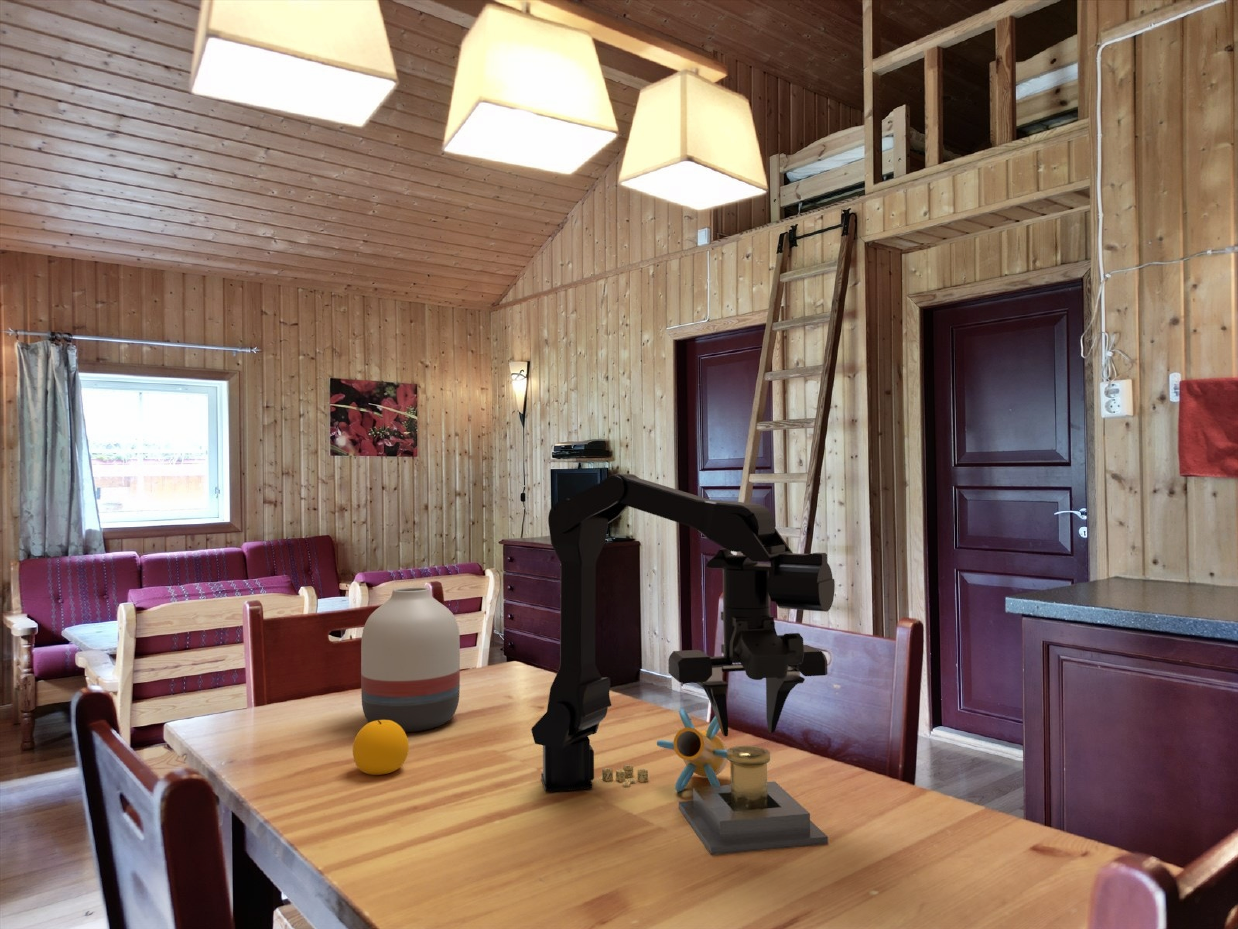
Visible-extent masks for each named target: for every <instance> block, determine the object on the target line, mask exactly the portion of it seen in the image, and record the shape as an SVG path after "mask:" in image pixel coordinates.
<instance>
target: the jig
mask: <svg viewBox="0 0 1238 929" xmlns="http://www.w3.org/2000/svg"><path fill="white" fill-rule="evenodd" d="M692 799H693V800H687V801H686V800H685V801H678V809H679V811H680V813H681V814H682V815H683V816H684V818H685V819H686V820H687V822H688V824H689V825H690V827H691V828H692V829H693V831H694V833H695V834H696V835H697V837H698V838H699V839H700V841H701V842H702V843H703V845H704V847H705V848H706V850H707V851H708V852H709V854H710V855H711V856H713V855H722V854H723V855H724V854H733V853H745V852H754V851H765V850H767V851H768V850H775V849H786V848H787V849H788V848H797V847H808V846H817V845H818V846H819V845H827V844H829V837H828V835H827V834H826V833H825V832H823V831H822V829H821V828H819V827H818V826H817V825H816V824H815V823H814V822H813V821H812V820H811V814H810V812H809V811H808V810H807V809H806V808H805V807H804V806H802V805H801V804H800V802H798V801H797V800H796V799H795V798H794V797H792V796H791V795H790V794H789V793H788V792H787V791H786V790H785V789H784V788H783V787H782V786H781V785H779V784H778V783H777V781H774V780H773V781H767V809H755V810H743V811H733V810H732V809H731V784H722V785H720V786H711V785H709V786H699V787H693V788H692Z"/></svg>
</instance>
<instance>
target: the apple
mask: <svg viewBox="0 0 1238 929" xmlns="http://www.w3.org/2000/svg"><path fill="white" fill-rule="evenodd" d="M409 748H410V745H409V740H408V736H407V734H406V732H404V730H403V729H402V727H401V726H400V725H398V724H397V723H395V722H393V721H391V720H377V721H372V722H370V723H369V722H368V723H366V724H365V725H363V726H362V727H361V729H360V730H359V731H358V732H357V734H356V736H355V738H354V740H353V744H352V756H353V760H354V761H353V762H354V763H355V765H356V767H357V769H359V770H360V771H361V772H362V773H365V774H367V775H371V776H382V775H388V774H390V773H393V772H395V771H397V770H399V769H400V768H401V766H403V764H404V763H405V762H406V760H407V757H408V754H409V750H410V749H409Z"/></svg>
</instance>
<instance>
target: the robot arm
mask: <svg viewBox="0 0 1238 929" xmlns="http://www.w3.org/2000/svg"><path fill="white" fill-rule="evenodd" d="M629 507H630V508H633V509H634V510H639V511H642V512H645V513H647V514H650V515H654V516H657V517H660V518H662V519H666V520H669V521H672V522H675V523H679V524H681V525H684V526H688V527H691V529H694V530H696V531H698V532H699V533H700V534H702V535H703V537H704V538H706V539H707V540H709V541H711V542H713V543H715V544H716V545H718V546H720V547H722V548H720V549H718V550H717V552H716V553H715V554H714V556H713V557H711V559H710V560H708V561H707V562H706V563H705V564H706V565H705V566H706V568H707V569H722V598H723V599H722V602H723V604H722V611H720V620H721V621H723V623H722V624H723V644H722V643H721V644H720V652H721V654H723V655H722V656H721V655H720V656H718V655H717V656H709V655H708V654H706V653H705V652H704V651H702V650H700V649H692V650H689V649H688V650H673V651H672V652H671V653H670V654H669V657H668V659H667V662H668V663H667V664H668V674H669V675H670V676H671V677H673V678H674V679H675V680H676V681H677V682H678V683H683V684H692V683H696V684H697V685H698V686H700V687H701V688H702V689H703V690H704V693H705V694H706V696H707V698H708V700H709V703H710V705H711V708H712V710H713V713H714V717H715V716H716V719H717V721H718V724H719V727H720V729H719V730H720V731H721V734H722V736H723V737H728V735H729V716H728V707H727V690H728V685H729V684H728V682H726V681H725V680H723V673H728V672H745V675H746V676H747V678H749V679H751V680H754V681H761V680H762V679H763V680H764V679H765V695H766V696H765V699H766V700H765V702H766V703H765V705H766V712H765V714H766V724H767V725H766V726H767V730H768V732H769V733H770V734H775V732H776V729H777V725H778V724H779V720H780V717H781V715H782V711H783V709H784V706H785V703H786V702H787V699H788V697H789V695H790V692H791V691H792V690H793V689H794V688H795V687H796V686H797V685H798V684H804V682H805V677H818V676H819V677H821V676H822V677H823V676H827V675H828V673H829V672H828V659H827V656H826V654H825V653H824V652H823V651H822V650H819V649H817V648H815V647H813V646H810V645H809V644H805V643H804V638H803V636H802V635H801V633H799V632H795V633H793V632H791V633H784V634H779V635H778V633H777V630H776V622H775V618H774V616H773V615H771V602H775V603H776V606H777V607H778V608H779V609H785V610H798V611H813V612H826V613H827V612H829V611H830V610H831V608H832V606H833V602H834V598H835V586H836V585H835V584H836V583H835V582H836V581H835V579H834V578H833V572H832V568H831V566H830V564H829V563H828V553H826V552H812V553H798V552H797V553H795V552H794V553H793V550H792V549H791V548H790V546H789V545H788V543H787V542H786V541H785V540H784V538H783V537H782V536H781V534H780V532H779V531H778V529H777V528H776V523H775V519H774V516H773V514H772V512H771V510H770V509H769V508H768V507H767V506H764V505H762V504H759V503H754V502H753V503H752V502H742V501H732V500H731V501H730V500H721V499H720V500H719V499H709V498H705V497H702V496H699V495H695V494H692V493H689V492H685V491H683V490H680V489H675V488H673V487H669V486H666V485H663V484H659V483H656V482H653V481H650V480H646V479H644V478H640V477H639V476H638V475H635V474H632V473H612V474H610V475H609V476H607V477H605V478H603V480H602V481H600V482H598V483H597V484H595V485H593V486H591V487H589V488H586V489H585V490H583V491H580V492H579V493H577V494H575V495H573V496H572V497H570V498H565V499H560V500H558V501H557V502H555V504H554V505H553V506H552V507H551V508H550V509H549V512H548V516H547V517H548V518H547V522H548V523H547V525H548V530H549V537H550V543H551V544H550V545H551V546H552V548H553V550H554V552H555V554H556V556H557V557H558V560H559V562H560V624H559V625H560V634H559V637H560V638H559V639H560V640H559V642H560V644H559V646H560V647H559V648H560V649H559V650H560V652H559V656H560V658H559V668H558V670H557V673H556V675H555V677H554V679H553V682H552V683H551V686H550V687H549V693H548V694H549V695H548V699H547V700H548V702H547V708H546V709H547V710H546V712H545V713H544V714H543V715H542V716H541V717H540V718H539V719H538V721H537V722H536V723H535V724H534V725H533V726H532V727H531V729H530V730H531V731H530V732H531V734H532V737H533V741H534V744H536V745H540V746H542V773H541V775H540V776H541V777H540V778H541V781H542V785H543V788H544V791H545V792H547V793H552V792H564V791H579V790H590V789H591V790H592V789H593V786H594V785H593V782H592V781H593V780H594V779H595V751H594V749H593V746H592V745H591V743H590V741H591V740H590V738H589V737H590V736H591V735H596V734H597V732H598V729H599V726H600V723H601V722H602V721H603V720H604V719H605V718H606V716H607V714H608V708H609V707H612V702H611V698H610V690H611V678H610V677H609V676H608V677H607V676H605V677H602V675H601V674H600V672H599V669H598V667H597V663H596V608H597V607H596V604H597V603H596V592H597V591H596V590H597V589H596V588H597V587H596V586H597V585H596V580H597V579H596V575H597V572H596V571H597V570H596V566H597V561H598V559H599V556H600V555H601V554H600V553H601V552H602V550H603V548H604V545H605V544H606V538H607V530H608V525H609V524H610V523H612V522H613V521H614V520H616V519H618V517H620V516H621V515H622V514H623V513H624V511H625V510H626V509H628V508H629ZM732 552H734V553H741V554H733V553H732ZM761 562H762V563H761ZM767 562H769V563H767ZM801 675H803V676H804V677H802V676H801Z"/></svg>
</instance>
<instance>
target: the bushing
mask: <svg viewBox="0 0 1238 929" xmlns="http://www.w3.org/2000/svg"><path fill="white" fill-rule="evenodd" d="M727 759H728V761H729V762H730V785H731V809H732V810H733V811H743V810H755V809H767V782H768V763H770V761H771V751H769V750H768V749H767V748H764V747H760V746H756V745H736V746H731V747H730V748H727Z"/></svg>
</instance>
